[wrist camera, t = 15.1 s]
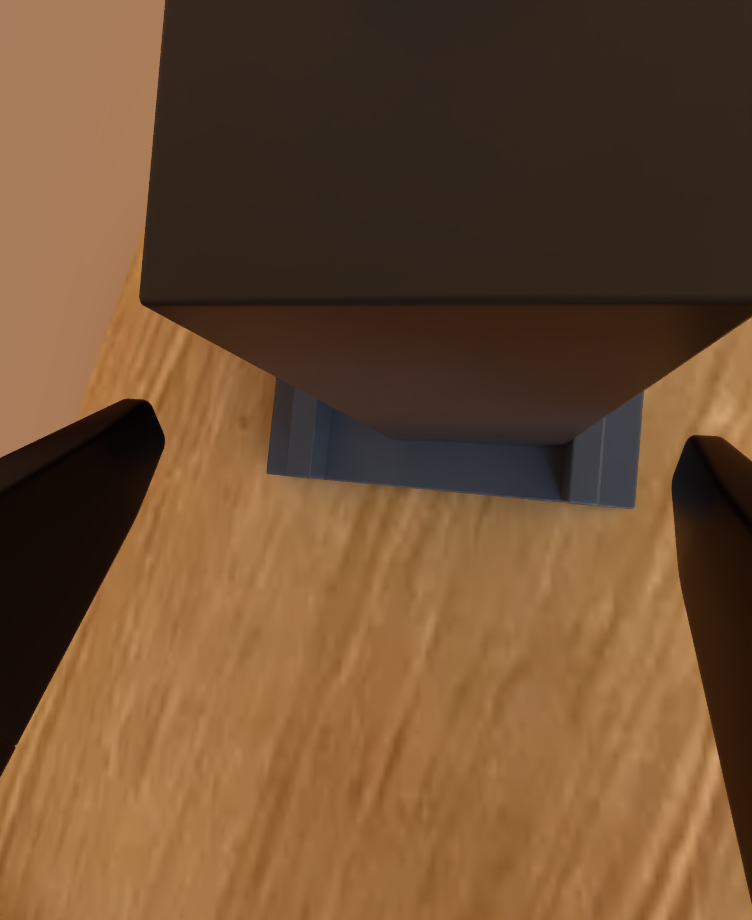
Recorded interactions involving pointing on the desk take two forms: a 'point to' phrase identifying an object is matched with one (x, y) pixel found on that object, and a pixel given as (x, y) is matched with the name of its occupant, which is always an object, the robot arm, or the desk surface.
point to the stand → (457, 456)
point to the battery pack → (455, 201)
